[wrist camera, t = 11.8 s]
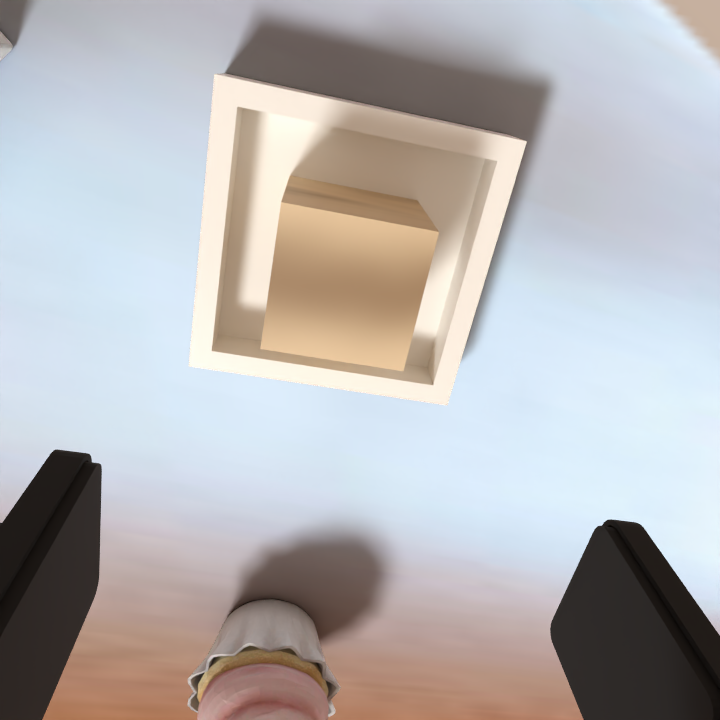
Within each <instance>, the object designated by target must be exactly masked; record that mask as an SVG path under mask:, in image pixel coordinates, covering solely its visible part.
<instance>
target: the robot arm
mask: <svg viewBox="0 0 720 720" xmlns="http://www.w3.org/2000/svg"><path fill="white" fill-rule="evenodd" d="M101 475H102V469H101V464H99V463H92V460H91V456H90V454H87V453H79V452H71V451H63V450H54V451H53V452H52V453H51V454H50V456H49V457H48V458H47V460H46V461H45V463H44V464H43V466H42V467H41V468H40V470H39V471H38V473H37V474H36V476H35V477H34V478H33V480H32V481H31V483H30V484H29V486H28V487H27V488H26V490H25V491H24V493H23V494H22V496H21V497H20V498H19V500H18V501H17V503H16V504H15V506H14V507H13V508H12V510H11V511H10V513H9V514H8V516H7V517H6V518H5V520H4V521H3V523H0V720H42V719H43V717H44V714H45V712H46V710H47V707H48V705H49V703H50V700H51V698H52V696H53V693H54V691H55V689H56V686H57V684H58V681H59V679H60V677H61V674H62V672H63V670H64V667H65V665H66V663H67V660H68V658H69V656H70V653H71V651H72V649H73V646H74V644H75V642H76V639H77V637H78V635H79V632H80V630H81V628H82V625H83V623H84V621H85V618H86V616H87V614H88V611H89V609H90V607H91V604H92V602H93V599H94V597H95V594H96V591H97V586H98V581H99V560H100V517H101ZM550 630H551V639H552V643H553V645H554V648H555V650H556V652H557V655H558V657H559V660H560V662H561V665H562V667H563V670H564V672H565V675H566V677H567V680H568V682H569V685H570V687H571V690H572V692H573V694H574V697H575V699H576V702H577V704H578V707H579V709H580V712H581V714H582V717H583V719H584V720H720V635H719V634H718V633H717V631H716V630H715V628H714V627H713V626H712V624H711V623H710V621H709V620H708V618H707V617H706V616H705V614H704V613H703V611H702V610H701V609H700V607H699V606H698V604H697V603H696V601H695V600H694V599H693V597H692V596H691V594H690V593H689V592H688V590H687V589H686V587H685V586H684V584H683V583H682V582H681V580H680V579H679V577H678V576H677V574H676V573H675V572H674V570H673V569H672V567H671V566H670V565H669V563H668V562H667V560H666V559H665V557H664V556H663V555H662V553H661V552H660V550H659V549H658V548H657V546H656V545H655V543H654V542H653V540H652V539H651V538H650V536H649V535H648V533H647V532H646V531H645V529H644V528H643V527H642V526H641V525H640V524H638V523H635V522H627V521H619V520H607V521H606V522H604V524H603V525H602V526H598V527H597V528H596V529H595V530H594V532H593V534H592V536H591V538H590V540H589V543H588V545H587V547H586V549H585V551H584V553H583V555H582V558H581V560H580V562H579V564H578V566H577V568H576V570H575V573H574V575H573V577H572V579H571V581H570V583H569V585H568V588H567V590H566V592H565V594H564V596H563V598H562V600H561V603H560V605H559V607H558V609H557V611H556V613H555V616H554V618H553V620H552V623H551V628H550Z"/></svg>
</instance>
